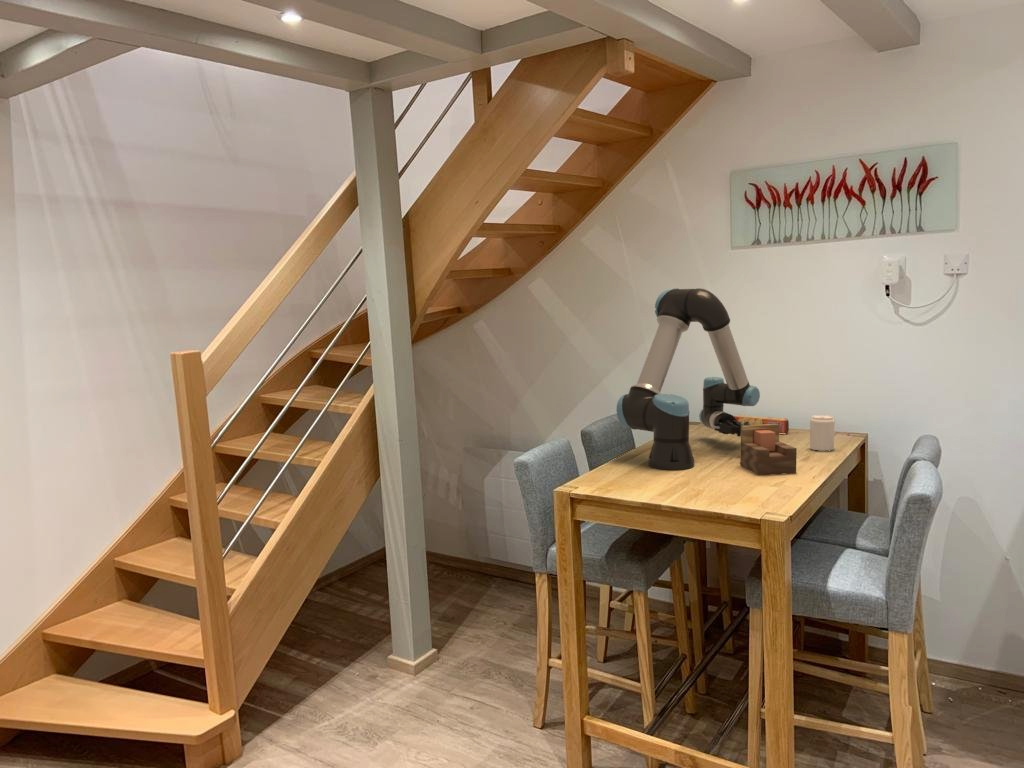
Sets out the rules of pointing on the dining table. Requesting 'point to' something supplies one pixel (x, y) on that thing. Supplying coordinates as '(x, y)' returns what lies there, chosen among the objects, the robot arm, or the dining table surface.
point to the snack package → (764, 421)
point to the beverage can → (822, 432)
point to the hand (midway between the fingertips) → (751, 434)
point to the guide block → (766, 453)
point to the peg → (764, 438)
